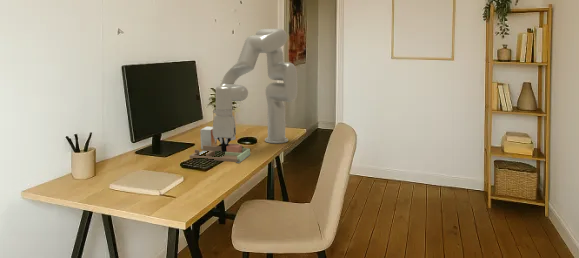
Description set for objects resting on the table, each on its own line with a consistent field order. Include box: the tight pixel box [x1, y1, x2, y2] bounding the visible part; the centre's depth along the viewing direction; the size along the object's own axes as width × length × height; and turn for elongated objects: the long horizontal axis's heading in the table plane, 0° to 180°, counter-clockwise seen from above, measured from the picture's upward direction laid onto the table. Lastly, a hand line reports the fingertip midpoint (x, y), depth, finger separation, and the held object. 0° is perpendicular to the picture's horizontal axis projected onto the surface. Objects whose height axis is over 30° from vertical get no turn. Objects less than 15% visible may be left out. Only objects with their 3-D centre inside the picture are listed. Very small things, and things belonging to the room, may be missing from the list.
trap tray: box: [188, 145, 251, 164], centre depth 199 cm, size 15×24×3 cm, turn 76°
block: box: [226, 143, 243, 153], centre depth 199 cm, size 6×6×5 cm
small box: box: [200, 126, 218, 150], centre depth 214 cm, size 8×6×10 cm
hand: (224, 151), depth 201 cm, fingers closed
